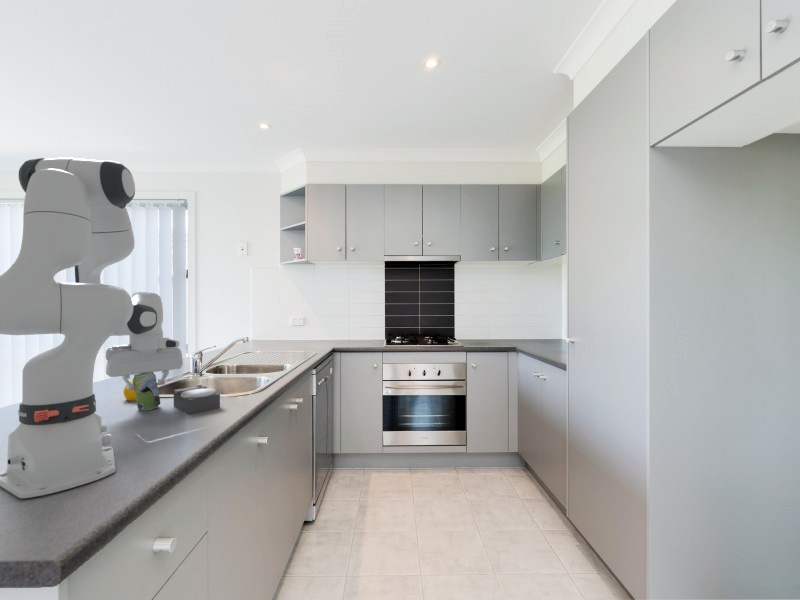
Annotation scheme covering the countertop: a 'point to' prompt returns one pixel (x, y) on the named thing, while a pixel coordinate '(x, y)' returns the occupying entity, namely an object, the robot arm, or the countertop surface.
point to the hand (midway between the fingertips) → (146, 386)
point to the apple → (130, 393)
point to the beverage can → (146, 391)
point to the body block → (196, 399)
